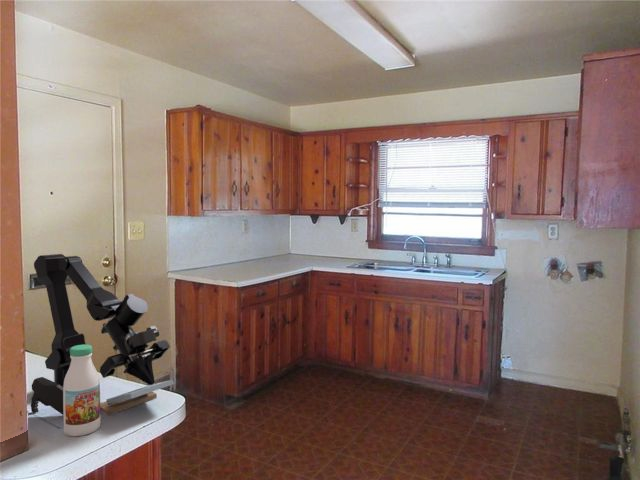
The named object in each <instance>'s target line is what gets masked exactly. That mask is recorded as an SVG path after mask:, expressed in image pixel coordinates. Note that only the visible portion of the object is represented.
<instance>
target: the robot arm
mask: <svg viewBox="0 0 640 480" xmlns="http://www.w3.org/2000/svg"><path fill="white" fill-rule="evenodd" d="M33 268H34V270H35V273H36V276H37V279H38V280H39V281H40V282H41V283H43V285H44V286H45V287H46V293H47V298H48V303H49V307H50V313H51V317H52V321H53V327H54V332H55V333H54V334H55V335H54V338H53V339H52V343H51V346H50V347H51V353H50V354H49V356H47V358H46V359H45V360H44V362H45V367H46V369H48V370H52V371H53V382H55V383H57V384H59V385H60V386H62V387H63V385H64V379H65V376H66V374H67V372H68V370H69V367H70V364H71V358H70V348H71V347H73V346H77V345H87V343H86V337H85V334H84V333H80V332H78V331H77V330H76V328H75V324H74V319H73V316H72V315H73V314H72V311H71V304H70V301H69V296H68V295H69V294H68V289H67V284H66V282H67V279H68V277H69V279H70V280H71V281H72V282H73V284H74V286H75V287H76V288H77V289H78V290H79V292H80V293H81V294H82V295H83V297H84V298H85V300H86V309H87V311H88V313H89V315H90V317H91V318H92V320H94V321H99V322H101V321H105V320H108V321H106V322H103V323H102V328H101V330H100V333H101V334H103V335H104V334H108V336H109V337H110V338H111V340H112V341H113V343H114V346H113V347H112V349H113V350H114V351H118V352H119V353H117V354H114V355H111V356H108V357H107V358H106V360H105V361H104V362H103V363H102V364H101V366H100V368H99V373H100V375H101V376H102V378H103V379H104V378H108V377H110V376H113V375H114V374H115V372H116V369H117V368H119V367H122V366H123V367H124V368H125V369H124V371H123V373H124V374H128V375H131V376H132V377H134V378H136V379H139V380H140V381H142V382H144V383H146V384H147V385H153V384H156V381H155V375H154V370H153V361H156V360H158V359H161V358H162V357H163V356H164V355H165V354H166V352H167V351H168V350H169V349H170V348H171V345H170V343H169V342H168V340H166V339H165V340H164V339H163V340H160V341H157V338H158V337H159V336H160V331H159V329H158V328H157V327H156V325H151V326H149V327H146V330H144V331H138V330H137V331H135V330H134V328H133V327H132V326H135V325H136V324H137V323H138V322H139V321H140V320H141V318H142V317H143V316H144V315H145V313H146V312H147V311H148V310H149V306H148V304H147V301H145V300H144V299H142V298H141V297H138V296H135V295H134V294H133V293H129V294H126V295H125V296H124V298H123V299H122V301H121V300H120V299H119V298H118V296H116V295H115V294H114V293H113V292H110V291H108V290H106V289H104V288H103V287H102V286H101V284H100V283H99V282H98V280H96V278H95V277H94V276H93V275H92V273H91V272H90V271H89V269H88V268H87V266H86V265H85V264H84V263H83V260H82V258H81V257H80V256H78V255H69V256H65V255H64V254H62V253H58V254H57V253H55V254H54V253H53V254H44V255H39V256H37V258H36V259H35V261H33ZM156 341H157V342H156ZM152 342H154V343H152ZM149 343H152V345H150V344H149ZM149 346H150V347H149ZM148 347H149V348H148ZM147 348H148V349H147Z"/></svg>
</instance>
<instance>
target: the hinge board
mask: <svg viewBox="0 0 640 480" xmlns="http://www.w3.org/2000/svg"><path fill="white" fill-rule="evenodd" d="M154 398H155V399H157V392H154V391H152V392H150V393H147V394H144V395H141V396H138V397H135V398H132V399H128V400H123V401H119V402H116V403H114V404H111V405H108V404H107V401H106V400H105V401H103V402H100V413H103V414H105V415H107V416H110V415H113V414H116V413H120V412H122V411H124V410H127V409H129V407H130V408H133V407H135V406H137V405H141V404H143V402H144V403H146V402H149V401H151V400H155V399H154ZM132 406H133V407H132Z"/></svg>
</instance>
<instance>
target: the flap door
mask: <svg viewBox="0 0 640 480" xmlns="http://www.w3.org/2000/svg"><path fill="white" fill-rule="evenodd" d="M174 384H175V383H174V379H170V380H166V381H161V382H157V383H154V384H153V385H149V384H147V385H145V386H143V387H139V388H136V389H133V390H130V391H128V392H124V393H121V394H118V395H116V396H112V397H109V398H107V399H106V400H105V401H107V404H108V405H111V404H114V403H116V402H119V401H123V400H128V399H132V398H135V397H138V396H141V395H144V394H147V393H150V392H154V391H158V390H161V389H164V388H166V387H169V386H173V385H174Z"/></svg>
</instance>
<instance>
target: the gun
mask: <svg viewBox="0 0 640 480" xmlns="http://www.w3.org/2000/svg"><path fill="white" fill-rule="evenodd" d="M31 390H32V392H33V394H32V396H31V399H30V409H31V410H30V411H31V412H32V413H33V414H37V413H39V403H41V404H42V405H44V406H45V407H51V408H52V409H53V410H55V411H57V413H60V414H61V415H62V416H63V387H62V386H60V385H59V384H57V383H55V382H54V380H53V381H52V380H50V379H48V378H46V377H44V376H40V377H37V378H34V379H33V382H32V383H31ZM36 412H37V413H36Z"/></svg>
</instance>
